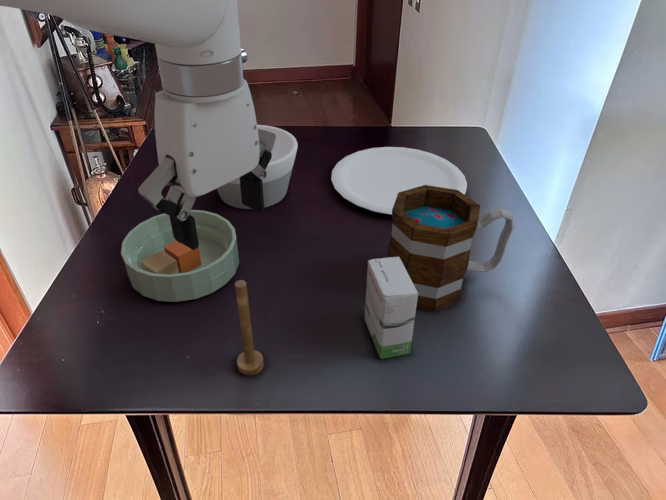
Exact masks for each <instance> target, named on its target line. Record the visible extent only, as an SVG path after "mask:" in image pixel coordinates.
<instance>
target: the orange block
mask: <svg viewBox="0 0 666 500" xmlns="http://www.w3.org/2000/svg"><path fill="white" fill-rule="evenodd" d="M164 251H165V253H167V254H168V255H169V256H171V257H172V258H174V259H175V260H176V261H177V265H178V270H179V273H185V272H189V271H191V270H192V269H194V268H196V267H197V266H199V265H201V259H200V253H199V248H197V249H195V250H192V249H190V248H189V247H187V246H185V245H184V244H182V243H179V242H178V241H176V240H175V241H174V242H172V243H170V244H168V245H166V246H164Z"/></svg>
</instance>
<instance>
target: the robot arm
mask: <svg viewBox="0 0 666 500" xmlns="http://www.w3.org/2000/svg"><path fill="white" fill-rule="evenodd" d="M0 7H7V8H12V9H20V10H23V11H24V10H25V11H30V12H36V13H40V14H46V15H49V16H53V17H59V18H60V19H62V20H63V21H65V22H67V23H69V24H71V25H73V26H75V27H78V28H81V29H84V30H87V31H92V32H97V33H101V34H105V35H111V36H116V37H121V38H128V39H132V40H137V41H142V42H147V43H151V44H154V46H155V52H156V59H157V65H158V69H159V76H160V80H161V81H160V82H161V86H162V87H161V88H162V89H161V90H160V91H157V92H156V93H155V98H154V99H155V100H154V134H155V135H154V136H155V144H156V146H155V147H156V154H157V163H158V166H157V167H156V168H154V170H153V171H152V172H151V173H150V174H149V176H148V177H147V178H146V179H145V180H144V181H143V182H142V183H141V185H139V187H138V189H137V190H138V191H137V192H138V194H140V196H141V197H142V198H143V199H144V200H145V201H146V202H147V203H149V204H150V207H152V208H154V209H156V210H157V211H159V212H161V214H164V213H165V214H167V215H169V217H170V222H171V227H172V232H173V236H174V238H175V240H176V241H178V242H179V243H182V244H184V245H185V246H187V247H189V248H190V249H192V250H195V249H197V248H198V246H199V242H198V236H197V230H196V224H195V219H194V217H193V216H191V215H189V214H190V211H191V210H193V209H192V208H193V207H194V205H195V203H196V200H197V198H199V197H201V196H204V195H206V194H208V193H210V192H212V191H214V190H217V189H216V188H218V187H220V186H223V185H225V184H227V183H229V182H231V181H233V180H235V179H237V178H239V177H240V188H241V199H242V203H243V204H244V205H246V206H248V207H250V208H252V209H251V210H254V211H256V212H258V213H262V212H263V211H264V210H265V208H264V197H263V183H262V180H263V179H265V177H266V175H267V172H266V168H267V166H268V164H269V162H270V160H271V158H272V153H271V150H272V149H273V146H274V142H275V139H276V135H275V134H274V133H272V132H269V131H267V130H263V129H258V128H257V125H258V122H257V116H256V111H255V106H254V101H253V97H252V94H251V90H250V86H249V84H248V82H247V80H246V79H244V69H243V64H244V63H247V61H248V54H247V52H246V50H245V49H243V48H242V47H241V44H242V43H241V34H240V21H239V9H238V0H0ZM166 186H170V187H169V189H168V192H167V194H166V196H165V197H164V196H163V194H162V191H163V190H164V188H165V187H166ZM182 194H183V196H182ZM181 196H182V198H181V201H180V203H179V204H178V202H179V200H180V197H181Z"/></svg>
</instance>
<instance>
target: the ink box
mask: <svg viewBox="0 0 666 500" xmlns="http://www.w3.org/2000/svg"><path fill="white" fill-rule="evenodd" d="M417 299H418V292H417V290H416V288H415V286H414V284H413V283H412V281H411V279H410V277H409V275H408V273H407V271H406V269H405V267H404V265H403V263H402V261H401V259H400V257H388V256H387V257H382V258H372V259H368V260H367V274H366V287H365V305H364V321H365V324H366V326H367V329H368V332H369V335H370V337H371V339H372V342H373V344H374V347H375V350H376V352H377V354H378V357H379V359H380V360H384V359H389V358H391V359H392V358H396V357H401V356H405V355H409V354H411V348H412V342H413V335H414V329H415V319H416V312H417V308H416V306H417Z"/></svg>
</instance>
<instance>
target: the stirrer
mask: <svg viewBox="0 0 666 500" xmlns="http://www.w3.org/2000/svg"><path fill="white" fill-rule="evenodd" d="M234 290H235V297H236V305H237V312H238V320H239V326H240V328H239V329H240V335H241V342H242V349H243V351H242V352H241V353H240V354H238V355H237V359H236V365H237V366H236V367H237V370H238V372H239V373H241V375H244V376H255V375H257V374H259V373H260V372H261V371H262V370H263V368H264V357H263V354H262V353H261V352H260V351H258V350H256V349H255V347H254V345H255V344H254V339H253V329H252V322H251V312H250V311H251V310H250V304H249V303H250V302H249V294H248V287H247V282H246V281H245V280H244V279H239V280H236V281H235V283H234Z"/></svg>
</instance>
